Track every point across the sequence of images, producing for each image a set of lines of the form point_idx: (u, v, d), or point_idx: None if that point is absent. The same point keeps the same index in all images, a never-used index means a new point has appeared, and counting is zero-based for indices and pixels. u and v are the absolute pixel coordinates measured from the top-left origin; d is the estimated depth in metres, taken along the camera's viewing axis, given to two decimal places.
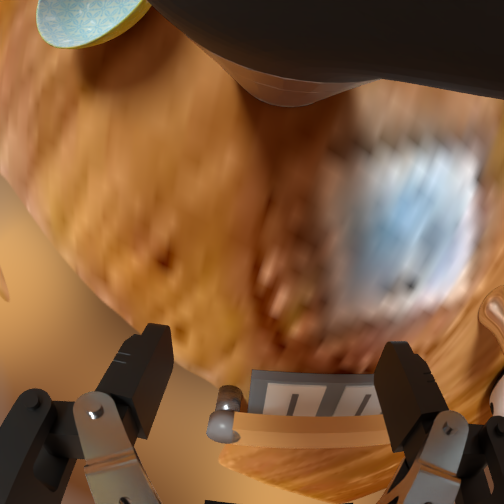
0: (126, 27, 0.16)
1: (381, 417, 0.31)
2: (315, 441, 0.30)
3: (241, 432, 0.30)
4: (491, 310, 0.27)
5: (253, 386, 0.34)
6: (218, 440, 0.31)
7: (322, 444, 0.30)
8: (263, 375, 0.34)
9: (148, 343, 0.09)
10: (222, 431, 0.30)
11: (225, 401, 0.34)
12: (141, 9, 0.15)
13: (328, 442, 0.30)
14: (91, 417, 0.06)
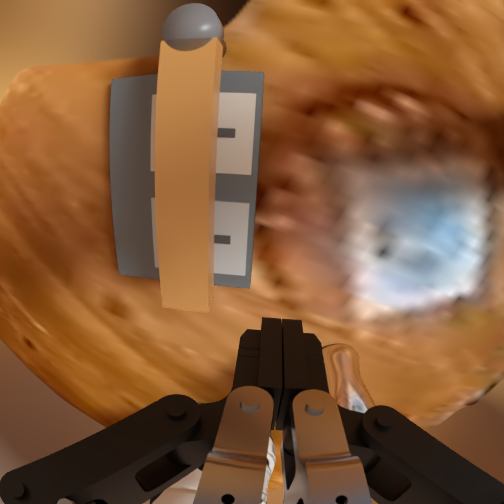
0: None
1: (212, 269, 0.25)
2: (182, 172, 0.20)
3: (205, 51, 0.17)
4: (347, 356, 0.32)
5: (246, 74, 0.22)
6: (170, 21, 0.16)
7: (169, 188, 0.21)
8: None
9: (272, 336, 0.10)
10: (204, 24, 0.16)
11: None
12: None
13: (176, 196, 0.21)
14: (253, 413, 0.07)
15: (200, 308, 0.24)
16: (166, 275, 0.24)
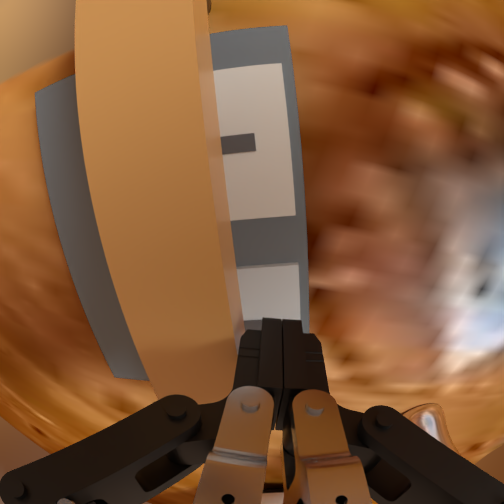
0: None
1: None
2: (160, 252, 0.09)
3: None
4: (434, 420, 0.20)
5: (255, 33, 0.11)
6: None
7: (141, 286, 0.10)
8: None
9: (272, 336, 0.10)
10: None
11: None
12: None
13: (159, 299, 0.10)
14: (253, 413, 0.07)
15: None
16: None
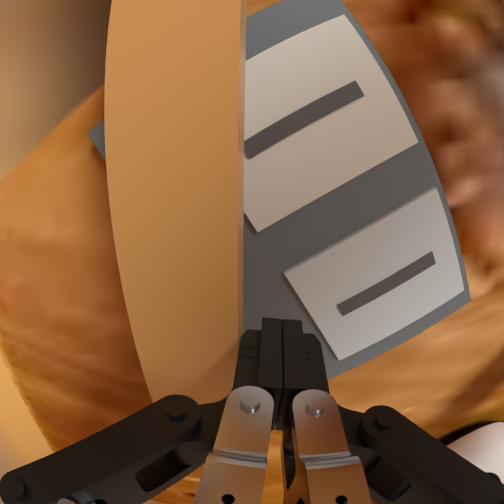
0: None
1: None
2: (174, 245, 0.09)
3: None
4: None
5: None
6: None
7: (149, 277, 0.10)
8: None
9: (272, 336, 0.10)
10: None
11: None
12: None
13: (167, 292, 0.10)
14: (253, 413, 0.07)
15: None
16: None
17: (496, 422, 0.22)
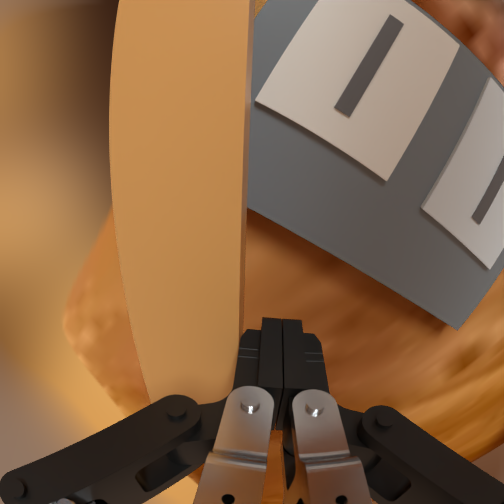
0: None
1: None
2: (177, 243, 0.09)
3: None
4: None
5: None
6: None
7: (150, 275, 0.09)
8: None
9: (273, 336, 0.10)
10: None
11: None
12: None
13: (168, 290, 0.10)
14: (253, 413, 0.07)
15: None
16: None
17: None
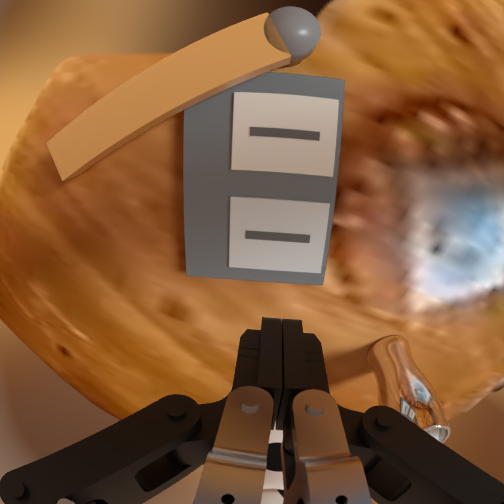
0: None
1: (96, 161, 0.23)
2: (155, 91, 0.19)
3: (273, 53, 0.18)
4: (402, 346, 0.32)
5: (328, 80, 0.23)
6: (291, 11, 0.16)
7: (138, 88, 0.19)
8: None
9: (272, 336, 0.10)
10: (299, 41, 0.17)
11: None
12: None
13: (135, 98, 0.19)
14: (253, 413, 0.07)
15: (62, 172, 0.22)
16: (71, 129, 0.20)
17: None
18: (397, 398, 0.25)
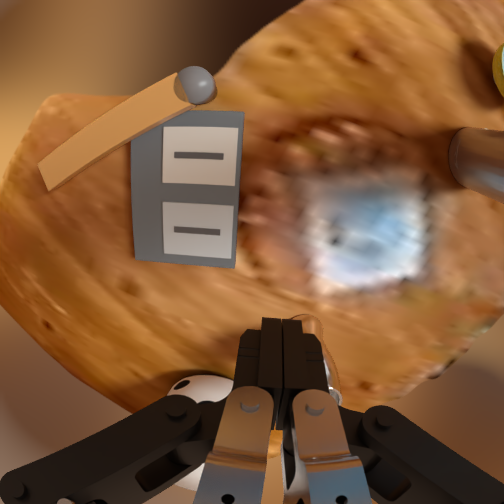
0: (501, 86, 0.25)
1: (71, 177, 0.33)
2: (106, 132, 0.29)
3: (179, 103, 0.27)
4: (311, 323, 0.43)
5: (231, 113, 0.33)
6: (192, 70, 0.26)
7: (95, 130, 0.28)
8: (243, 123, 0.34)
9: (272, 336, 0.10)
10: (196, 92, 0.27)
11: None
12: None
13: (94, 136, 0.29)
14: (253, 413, 0.07)
15: (48, 185, 0.31)
16: (53, 156, 0.30)
17: None
18: None
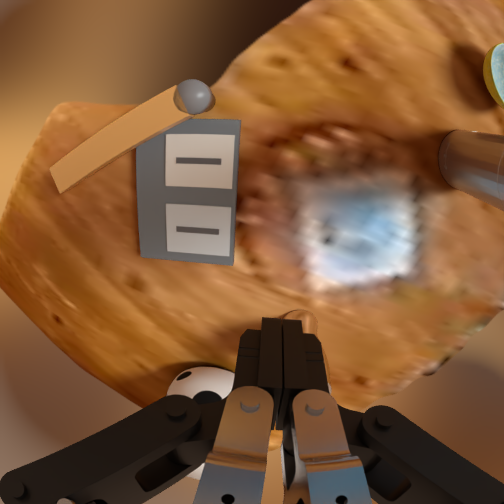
0: (491, 88, 0.27)
1: (81, 180, 0.36)
2: (113, 140, 0.32)
3: (178, 114, 0.30)
4: (306, 318, 0.46)
5: (228, 121, 0.36)
6: (190, 83, 0.29)
7: (103, 138, 0.32)
8: (239, 130, 0.37)
9: (272, 336, 0.10)
10: (194, 104, 0.30)
11: None
12: (498, 100, 0.27)
13: (101, 144, 0.32)
14: (253, 413, 0.07)
15: (59, 188, 0.35)
16: (64, 161, 0.33)
17: None
18: None
